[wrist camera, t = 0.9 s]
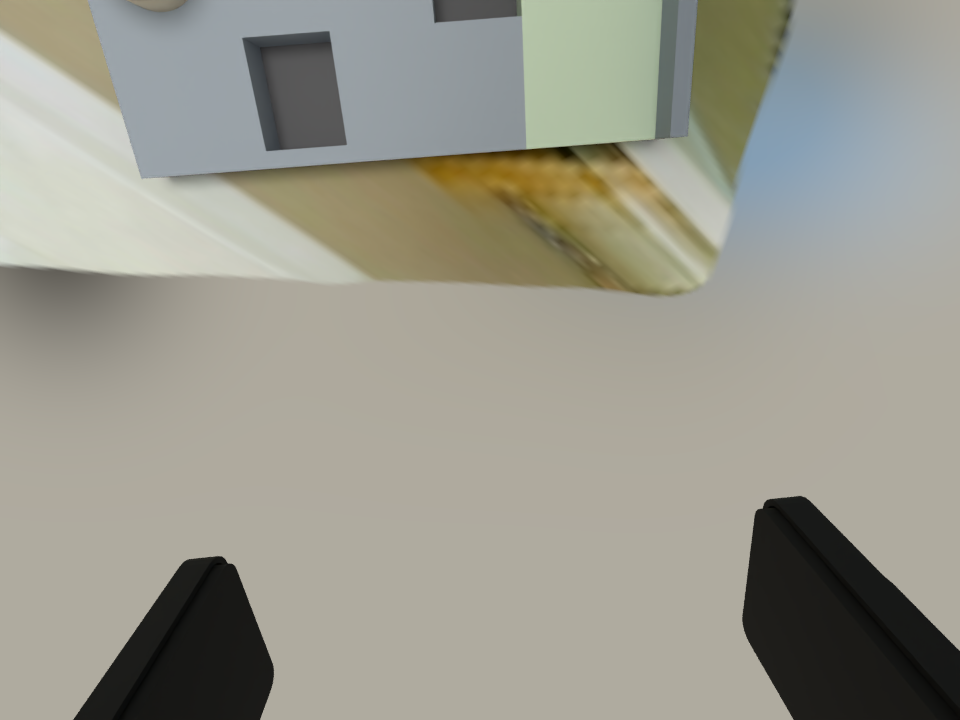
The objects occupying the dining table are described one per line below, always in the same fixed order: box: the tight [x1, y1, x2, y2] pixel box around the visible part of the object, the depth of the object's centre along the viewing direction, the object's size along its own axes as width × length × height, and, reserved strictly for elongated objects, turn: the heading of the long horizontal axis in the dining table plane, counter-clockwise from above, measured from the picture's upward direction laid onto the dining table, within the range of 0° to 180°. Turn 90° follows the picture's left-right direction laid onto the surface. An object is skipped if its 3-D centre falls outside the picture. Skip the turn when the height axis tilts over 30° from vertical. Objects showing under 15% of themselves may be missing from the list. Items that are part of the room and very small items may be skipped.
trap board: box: [88, 0, 698, 178], centre depth 29 cm, size 14×33×6 cm, turn 94°
